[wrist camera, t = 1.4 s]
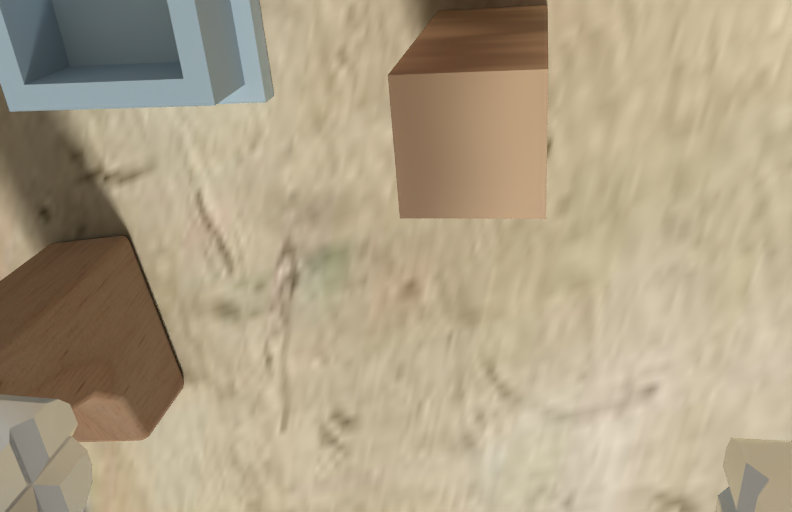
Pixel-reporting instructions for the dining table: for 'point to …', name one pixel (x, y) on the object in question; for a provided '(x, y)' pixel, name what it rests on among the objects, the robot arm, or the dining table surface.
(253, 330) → the dining table surface
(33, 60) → the cradle
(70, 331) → the wooden block
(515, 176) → the wood grain brick
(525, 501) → the dining table surface
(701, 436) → the dining table surface
